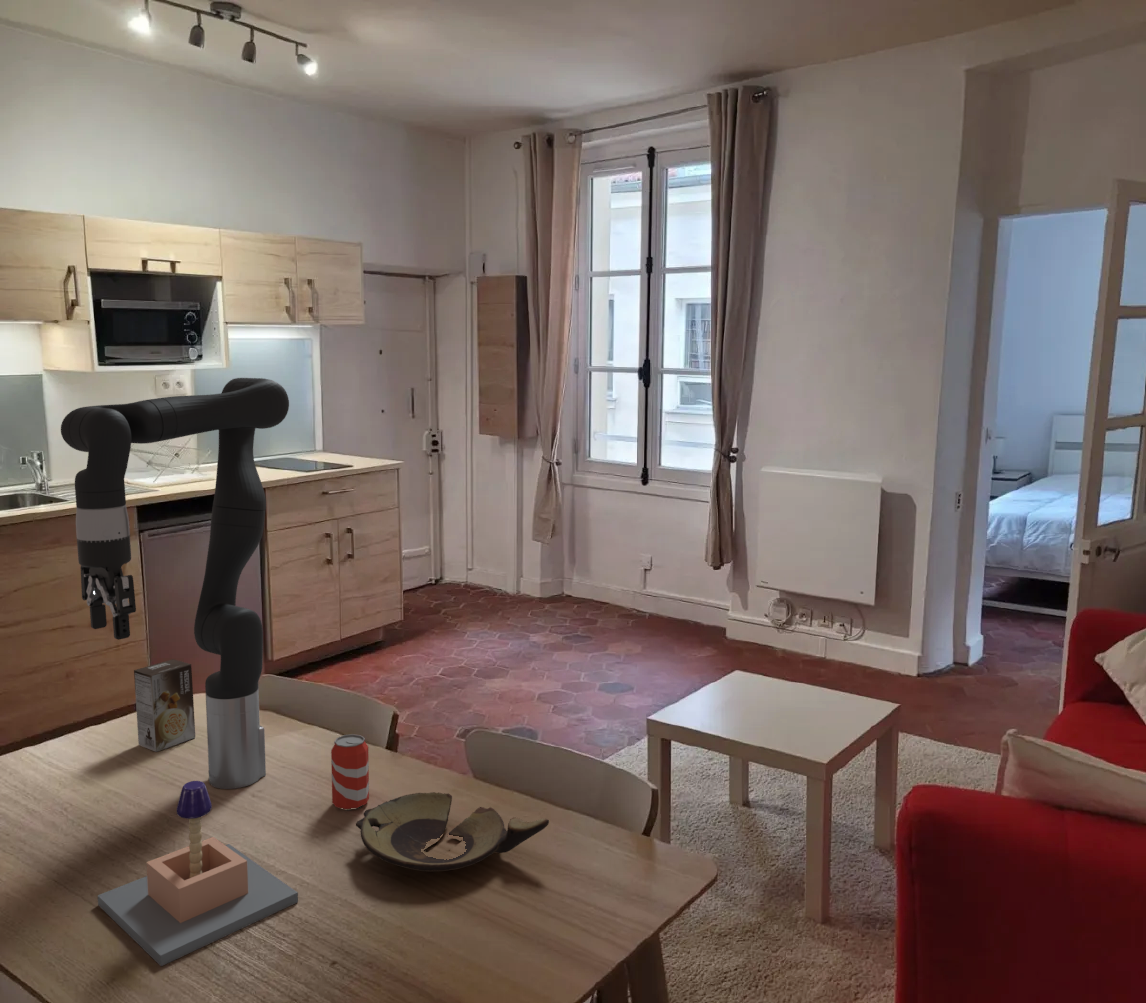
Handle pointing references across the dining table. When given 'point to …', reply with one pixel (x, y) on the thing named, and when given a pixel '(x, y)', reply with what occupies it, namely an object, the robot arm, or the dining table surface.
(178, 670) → the coffee box
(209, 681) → the robot arm
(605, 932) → the dining table surface
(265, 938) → the dining table surface
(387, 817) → the broken brown handled bowl
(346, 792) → the beverage can
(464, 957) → the dining table surface
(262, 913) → the socket block
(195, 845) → the toy lamp
